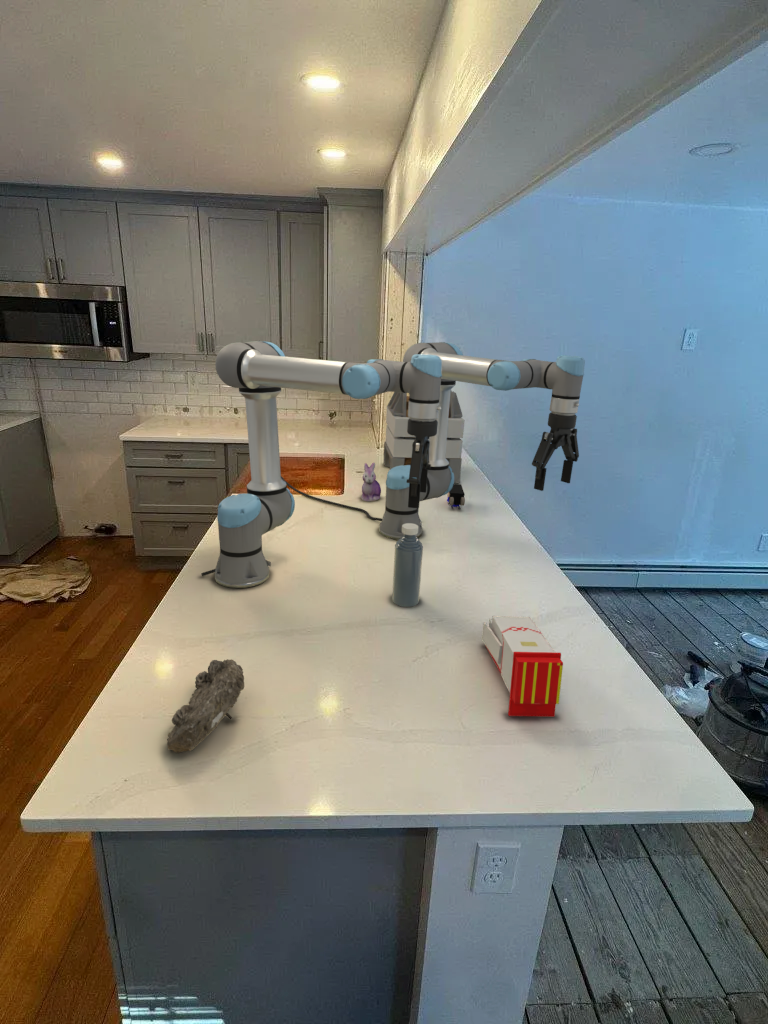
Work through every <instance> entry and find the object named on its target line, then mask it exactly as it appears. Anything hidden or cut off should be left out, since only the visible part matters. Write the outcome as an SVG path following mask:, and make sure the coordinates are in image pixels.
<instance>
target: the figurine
mask: <svg viewBox="0 0 768 1024" xmlns="http://www.w3.org/2000/svg"><path fill="white" fill-rule="evenodd" d="M363 468H364V470H363V471H364V472H363V474H362V481H363V483H362V485H361V496H360V498H361V500H362V501H364V502H373V501H377V500H380V499H381V495H382V487H381V484H380V482H379V481H378V480H376V479H377V476H376V473H375V468H376V462H372V463H371V465H370V466H369V464H367V462H365V463H364V464H363Z"/></svg>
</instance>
